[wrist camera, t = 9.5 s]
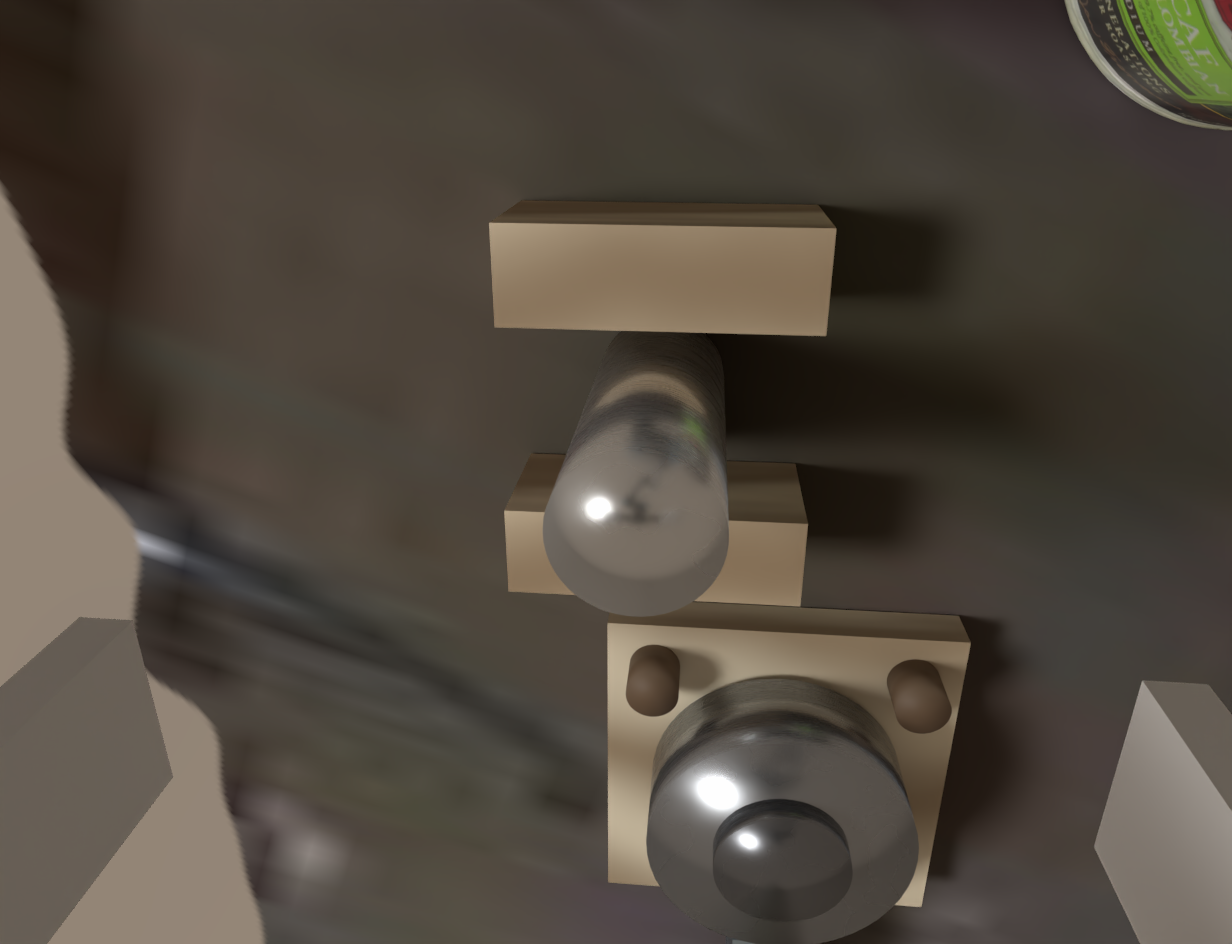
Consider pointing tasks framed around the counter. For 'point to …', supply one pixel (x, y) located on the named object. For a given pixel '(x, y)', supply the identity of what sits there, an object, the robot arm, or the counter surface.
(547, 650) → the counter surface
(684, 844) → the grey metal pan
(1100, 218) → the counter surface
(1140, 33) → the coffee can
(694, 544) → the pin
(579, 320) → the slot rails
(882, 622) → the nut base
